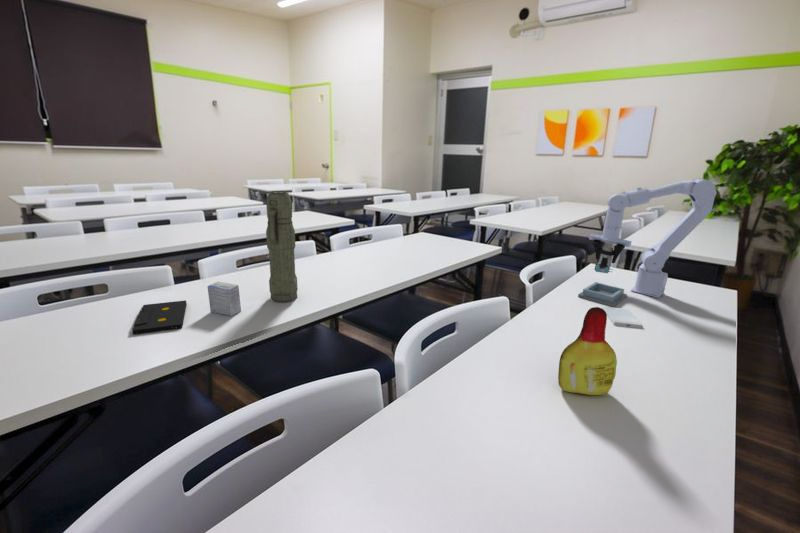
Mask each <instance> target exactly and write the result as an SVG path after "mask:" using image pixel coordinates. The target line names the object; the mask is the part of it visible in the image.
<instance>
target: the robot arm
mask: <svg viewBox="0 0 800 533" xmlns="http://www.w3.org/2000/svg"><path fill="white" fill-rule="evenodd" d="M675 194H682V195H686V196H689V198H690V200H691V205H692V208H691V209H690V210H689V211H688V212H687V213H686V214H685V215H684V217H682V218H681V220H680V221H679V222H677V223H676V225H674V227H673V228H671V230H669V232H667V234H666V235H665V236H664V237H663V238H662V239H661V240H660V241H659V242H658V243H656V244H653V246H652V247H651V248H650V249H647V250H644V251H643V252H642V253H641V255H640V259H641V262H642V263H641V265H638V266H639V267H638V270H637V271H638V272H637V276H636V280H635V284H634V287H633V288H631V289H630V292H634V293H638V294H642V295H645V296H648V297H649V296H650V297H654V298H657V299H658V298H660V297H661V296H662V295H664V293H665V289H666V285H667V281H668V277H669V276H668V275H669V273H667V272H663V271H662V269H663V268H664V267H665V263H666V261H667V260H669V258H670V255H671V253H672V251H674V250H675V249H676V248H677V247H678V245H680V244H681V243H682V242H683V241H684V240H685V239H686V238H688V236H689V235H690V234H691V232H693V231H694V230H695V229H696V228H697V226H699V225H700V223H702V222H703V221H704V220H705V219H706V218H707V217H708V216H709V215H710V214H711V212H712V210H713V207H714V202H715V198H716V196H717V188H716V185H715V183H714V182H712V181H711V180H708V179H704V178H701V177H699V178H698V177H697V178H693V179H684V180H681V181H677V182H676V181H675V182H674V183H669V184H665V185H663V186H659V187H656V188H652V189H648V188H646V187H641V186H638V187H636V189H634V190H630V191H629V190H628V191H622V192H621V194H619V193H615V194H613V195H611V196H610V197H609V199H607V205H608V207H607V209H606V210H607V213H606V214H605V219H604V225H603V230H602V234H593V233H591V234H589V236H588V237H589V238H588V240H590V241H593V242H592V245H593V247H594V252H595V260H596V261H597V260H598V261H599V259H600V256H601V253H600V248H603V246H604V243H608V244H613V250H614V254H613V256H612V259H611V264H615V263H616V261H617V259H618V257H619V256H620V254H621V252H622V251H623V250H624V248H625V247H626V248H630V247H631V246H632V240H627V239H623V238H620V235H621V234H620V233H621V229H622V224H623V219H624V212H625V209H626V208H633V207H638V206H641V205H645V204H646V205H647V204H649V203H650V201H651V200H652V199H655V198H656V199H657V198H660V197H664V196H670V195H675Z"/></svg>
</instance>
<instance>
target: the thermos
mask: <svg viewBox="0 0 800 533" xmlns="http://www.w3.org/2000/svg"><path fill="white" fill-rule="evenodd" d="M292 202H293V201H292V199H291V196H290V193H288V192H287V191H282V190H278V191H277V190H275V191H270V192H268V193H267V197H266V204H265V205H266V217H267V227H266V230H265V233H266V234H265V236H266V247H267V250H268V257H269V273H270V277H269V280H268V283H269V284H268V285H269V293H270V300H271V301H272V302H275V303H290V302H293V301H296V300H297V299H298V277H297V274H296V260H295V248H296V232H295V231H296V230H295V227H294V224H293V219H292V217H293V209H292V208H293V207H292V206H293V205H292Z"/></svg>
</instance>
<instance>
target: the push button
mask: <svg viewBox="0 0 800 533" xmlns="http://www.w3.org/2000/svg"><path fill="white" fill-rule="evenodd" d="M600 253H601V255H600V259H599V260H598V262H597V263H595V265H594V271H595V272H596V273H602V274H608V273H613V270H614V269H613V268H611V267H610V261H611V258H612V257H613V254H614V247H612V246H608V245H606V246H605V245H603V246H602V248H600Z"/></svg>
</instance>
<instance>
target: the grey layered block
mask: <svg viewBox="0 0 800 533" xmlns="http://www.w3.org/2000/svg"><path fill="white" fill-rule="evenodd" d="M207 294H208V302H209V310H210V313H213V314H218V315H219V314H220V315H223V316H229V317H233V316H234V315H236V314H238V313H241V311H242V306H241V299H240V298H241V297H240V287H239V285H238V284H234V283H229V282H223V281H216V282H214V283H211V284H209V285H207Z"/></svg>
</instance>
